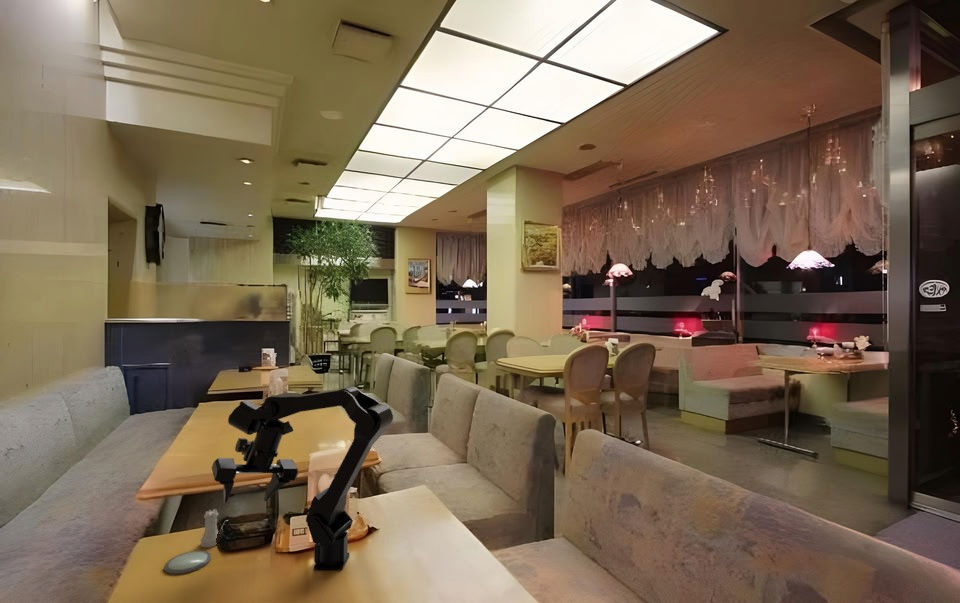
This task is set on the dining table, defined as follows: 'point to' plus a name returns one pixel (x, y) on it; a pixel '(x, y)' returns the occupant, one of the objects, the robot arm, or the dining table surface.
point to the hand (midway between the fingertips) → (245, 501)
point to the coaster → (187, 562)
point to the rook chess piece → (210, 529)
